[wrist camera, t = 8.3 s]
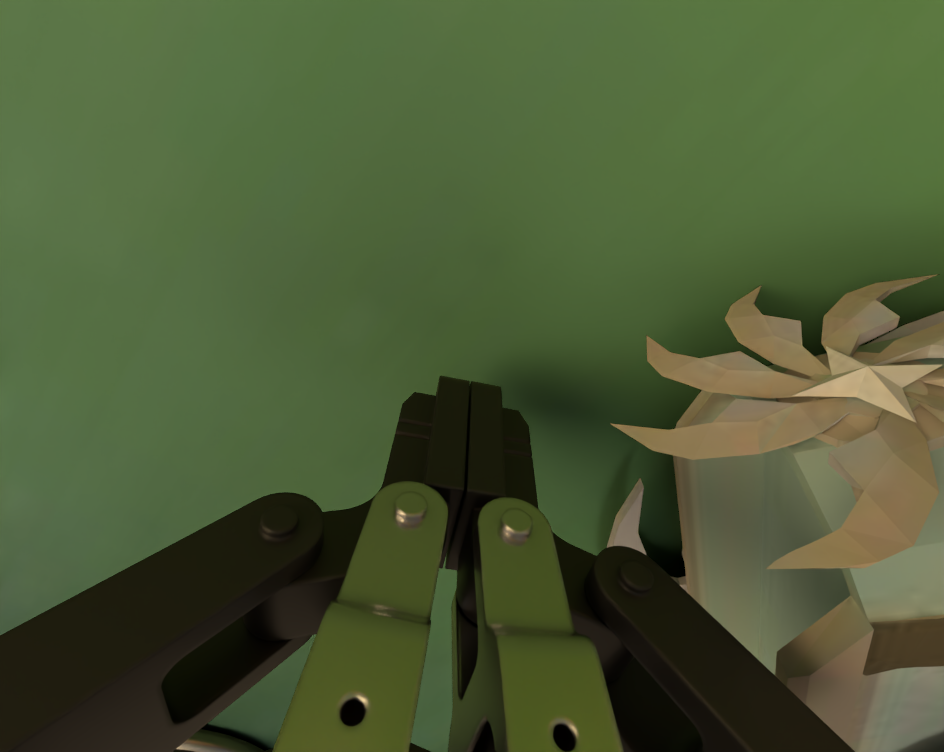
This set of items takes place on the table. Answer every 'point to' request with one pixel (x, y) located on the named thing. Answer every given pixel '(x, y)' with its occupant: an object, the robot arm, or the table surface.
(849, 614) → the ornate book
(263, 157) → the table surface
